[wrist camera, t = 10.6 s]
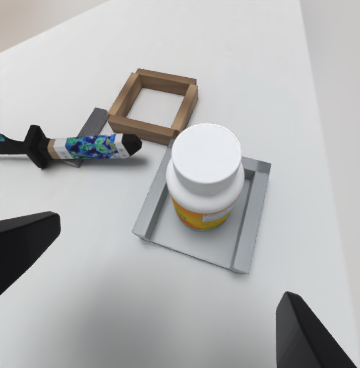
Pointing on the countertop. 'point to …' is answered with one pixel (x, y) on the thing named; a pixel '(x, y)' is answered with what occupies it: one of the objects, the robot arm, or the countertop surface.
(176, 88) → the socket collar
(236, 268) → the tray
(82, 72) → the countertop surface
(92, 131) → the bar
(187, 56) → the countertop surface
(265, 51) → the countertop surface
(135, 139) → the knife
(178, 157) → the supplement bottle
